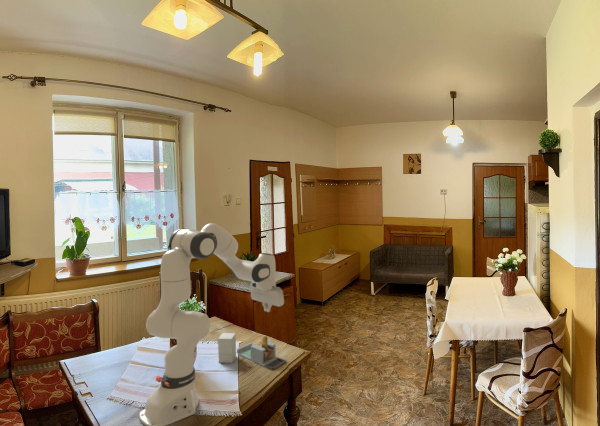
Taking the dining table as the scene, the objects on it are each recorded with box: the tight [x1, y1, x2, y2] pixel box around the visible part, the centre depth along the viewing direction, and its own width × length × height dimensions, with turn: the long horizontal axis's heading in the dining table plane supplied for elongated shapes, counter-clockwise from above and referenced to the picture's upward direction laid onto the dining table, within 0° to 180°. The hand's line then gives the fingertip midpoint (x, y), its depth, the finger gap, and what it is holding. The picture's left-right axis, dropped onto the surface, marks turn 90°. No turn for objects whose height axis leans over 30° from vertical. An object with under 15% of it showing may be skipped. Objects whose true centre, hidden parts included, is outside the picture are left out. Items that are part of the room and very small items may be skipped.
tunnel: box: [236, 340, 287, 371], centre depth 185 cm, size 10×26×7 cm, turn 50°
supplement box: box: [217, 332, 237, 364], centre depth 183 cm, size 7×7×13 cm
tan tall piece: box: [261, 335, 274, 362], centre depth 183 cm, size 6×7×11 cm
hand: (267, 311), depth 182 cm, fingers closed
